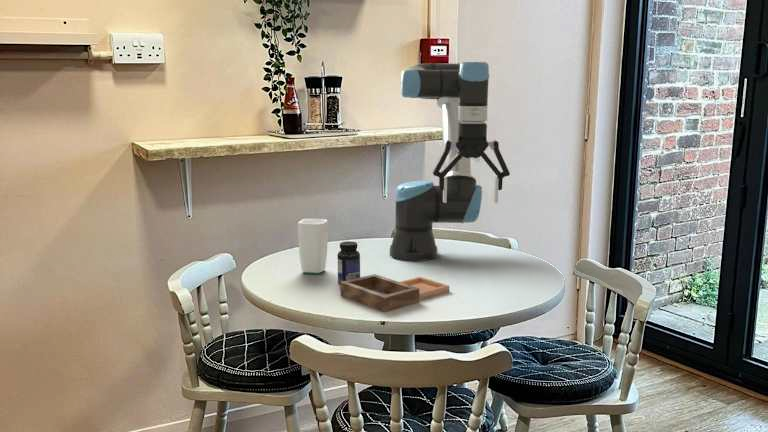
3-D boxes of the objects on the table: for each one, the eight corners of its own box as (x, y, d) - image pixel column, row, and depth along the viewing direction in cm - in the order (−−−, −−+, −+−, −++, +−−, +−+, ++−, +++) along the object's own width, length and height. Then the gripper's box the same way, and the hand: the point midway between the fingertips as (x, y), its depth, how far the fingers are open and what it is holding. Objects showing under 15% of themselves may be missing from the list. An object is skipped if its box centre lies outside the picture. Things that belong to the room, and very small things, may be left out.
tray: (389, 290, 177) (389, 284, 177) (419, 282, 185) (419, 276, 184) (419, 300, 169) (419, 294, 169) (449, 291, 176) (449, 285, 176)
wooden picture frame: (340, 295, 173) (340, 282, 172) (374, 286, 180) (374, 274, 180) (384, 312, 160) (384, 297, 160) (419, 302, 168) (419, 288, 167)
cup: (297, 274, 192) (296, 223, 189) (306, 267, 199) (305, 218, 196) (321, 276, 190) (320, 224, 187) (329, 269, 197) (329, 219, 194)
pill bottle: (363, 280, 186) (363, 241, 184) (355, 286, 180) (355, 246, 178) (342, 278, 188) (342, 239, 186) (334, 284, 182) (333, 244, 180)
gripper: (425, 123, 173) (424, 204, 178) (523, 123, 173) (519, 204, 178) (424, 121, 181) (422, 199, 185) (517, 121, 181) (513, 199, 185)
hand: (470, 202), depth 181 cm, fingers open, 13 cm apart
